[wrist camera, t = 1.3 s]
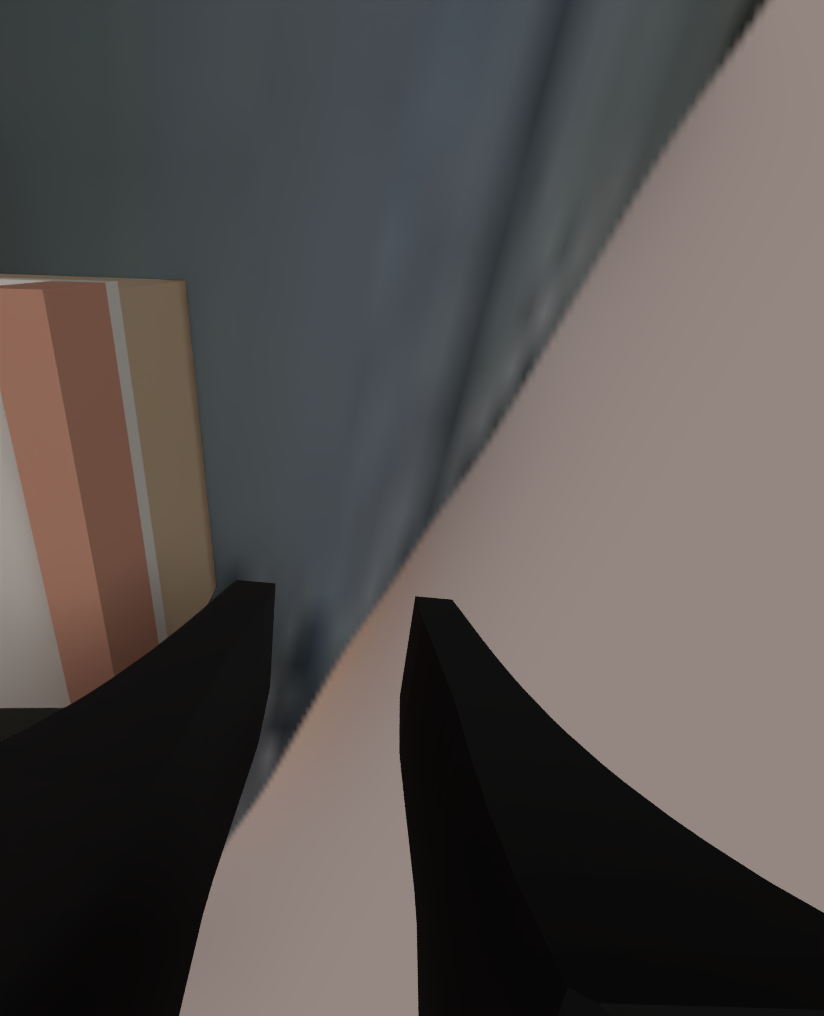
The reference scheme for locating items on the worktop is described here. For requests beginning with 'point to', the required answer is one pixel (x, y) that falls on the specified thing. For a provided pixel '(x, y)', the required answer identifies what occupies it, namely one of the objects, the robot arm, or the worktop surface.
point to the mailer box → (168, 438)
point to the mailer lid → (70, 496)
